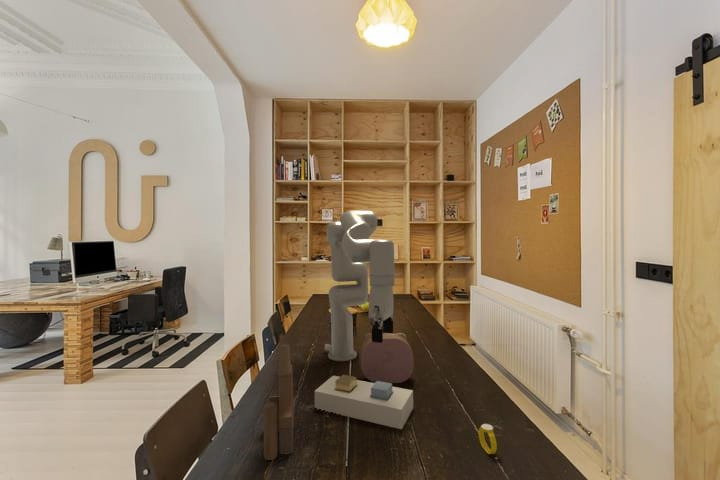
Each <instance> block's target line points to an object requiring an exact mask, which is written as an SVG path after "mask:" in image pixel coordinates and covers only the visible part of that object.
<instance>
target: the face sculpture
mask: <svg viewBox="0 0 720 480" xmlns="http://www.w3.org/2000/svg"><path fill="white" fill-rule="evenodd" d="M363 338H364V339H363V342H362V344H361V346H360V348H359V354H358V358H359V359H358V360H359V361H358V363H359V367H360V369H361V372H362V374H363V376H364V377H365V378H366V379H367V380H368V381H370V382H371V383H376V382H377V381H380V382H385V383H391V384H402V383H405V382H406V381H407V380H408V379H409V378H410V376H411V374H413V372H414V352H413V350H412V347H411V345H410V343H409V342H408V339H407V338H408V337H407V334H405V333H402V332H400V333H399V332H398V333H383V342H382V343H377V342H372V332H371V333H367V334H365V335H364V337H363Z"/></svg>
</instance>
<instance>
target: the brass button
mask: <svg viewBox="0 0 720 480" xmlns="http://www.w3.org/2000/svg"><path fill="white" fill-rule="evenodd" d="M338 377H339V378H338V379H337V380H336V381H335V386H336V390H338V391H343V392H348V393H350V392H351V391H352V390H353V389H354V388H355V387H356V386H357V380H358V379H357V376H352V375H347V374H342V375H341V376H338Z"/></svg>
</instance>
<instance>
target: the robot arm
mask: <svg viewBox="0 0 720 480" xmlns="http://www.w3.org/2000/svg"><path fill="white" fill-rule="evenodd" d="M377 227H378V218H377V215H376V214H375V212H373V211H372V210H356V209H355V210H354V209H353V210H352V209H351V210H347V211H344V212H343V213H342V214H341V215H340V218H339V220H338V221H337V220H336V221H332V222H329V223H328V224H327V227H326V237H327V241H328V245H329V248H330V255H331V261H330V262H331V277H332V280H333V281H334V282H338V283H341V282H342V283H344V282H345V283H346V284H336V285H333V286H331V287H330V288H329V290H328V301H329V307H330V328H331V329H330V331H331V335H330V336H331V344H328V343H325V344H324V351H328V354H327V356H328V359H329V360H331V361H333V362H334V361H335V362H347V361H352V360H354V359H356V357H357V356H358V355H357V351H356V350H354V322H353V319H354V317H353V315H352V312H351V311H350V310H349V309H348V307H353V306H362V305H365V304H367V302H368V319H369V320H370V329H371V333H372V342H377V343H382V342H383V334H385V333H389V334H394V315H393V314H394V309H395V308H394V304H395V303H394V302H395V301H394V290H393V289H394V287H395V286H396V285H395V244H394V242H393V240H391V239H384V238H370V237H371V235H372V234H374V232H375V231H376V230H377ZM367 263H369V264H368V265H369V266H367ZM368 267H369V271H368ZM368 275H369V276H368ZM347 282H355V283H349V284H348V283H347ZM369 287H370V289H369Z"/></svg>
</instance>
